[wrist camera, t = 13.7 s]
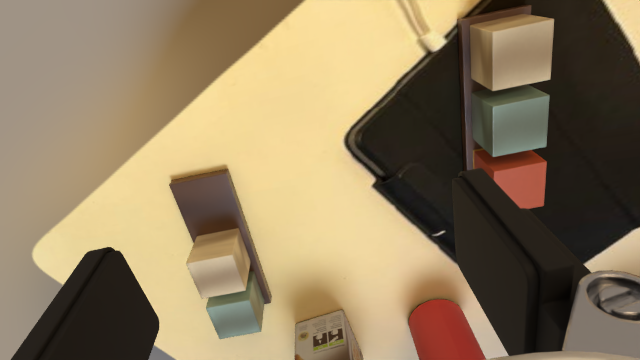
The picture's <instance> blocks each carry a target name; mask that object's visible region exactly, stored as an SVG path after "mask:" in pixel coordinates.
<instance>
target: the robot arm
mask: <svg viewBox="0 0 640 360" xmlns="http://www.w3.org/2000/svg"><path fill="white" fill-rule="evenodd" d="M452 193H453V211H454V229H455V247H456V259H457V263H458V265H459V268H460V270H461V272H462V273H463V275H464V277H465V279H466V280H467V282H468V284H469V286H470V288H471V289H472V291H473V293H474V295H475V296H476V298H477V300H478V302H479V304H480V305H481V307H482V309H483V311H484V312H485V314H486V316H487V318H488V319H489V321H490V323H491V325H492V327H493V328H494V330H495V332H496V334H497V335H498V337H499V339H500V341H501V343H502V344H503V346H504V348H505V350H506V351H507V353H508V355H509V356H506V357H498V358H492V359H486V360H640V277H639V276H636V275H633V274H629V273H626V272H620V271H612V270H609V271H597V272H593V273H591V272H590V271H589V270H588V269H587V268H586V267H585V266H584V265H583V264H582V263H581V262H580V261H579V260H578V259H577V258H576V256H575V255H574V254H573V253H572V252H571V251H570V250H569V249H568V248H567V247H566V246H565V245H564V244H563V243H562V242H561V241H560V240H559V239H558V238H557V237H556V236H555V235H554V234H553V233H552V232H551V231H550V230H549V229H548V228H547V227H546V226H545V225H544V224H543V223H542V222H541V221H540V220H539V219H538V218H537V217H536V216H535V215H534V214H533V213H532V212H531V211H530V210H528V209H526V208H520V207H519V206H518V205H517V204H516V203H515V202H514V201H513V200H512V199H511V198H510V197H509V196H508V195H507V194H506V193H505V192H504V191H503V190H502V189H501V187H500V186H499V185H498V184H497V183H496V182H495V181H494V180H493V179H492V178H491V177H490V176H489V175H488V174H487V173H486V172H485V171H484V170H483V169H482V168H476V169H472V170H467V171H462V172H459V174H458V178H455V179H453V180H452ZM158 331H159V319H158V317H157V315H156V313H155V311H154V309H153V308H152V306H151V304H150V302H149V301H148V299H147V297H146V295H145V294H144V292H143V290H142V288H141V286H140V285H139V283H138V281H137V279H136V278H135V276H134V274H133V272H132V271H131V269H130V267H129V265H128V263H127V262H126V260H125V258H124V256H123V255H122V253H121V252H120V251H115V250H114V249H113V248H111V247H107V248H102V249H97V250H93V251H89V252H87V253H86V254H85V255H84V257H83V258H82V260H81V261H80V263H79V264H78V265H77V267H76V268H75V270H74V271H73V272H72V274H71V275H70V277H69V278H68V280H67V281H66V282H65V284H64V285H63V287H62V288H61V289H60V291H59V292H58V294H57V295H56V297H55V298H54V299H53V301H52V302H51V304H50V305H49V306H48V308H47V309H46V311H45V312H44V313H43V315H42V316H41V318H40V319H39V321H38V322H37V323H36V325H35V326H34V328H33V329H32V330H31V332H30V333H29V335H28V336H27V338H26V339H25V340H24V342H23V343H22V345H21V346H20V347H19V349H18V351H17V352H16V353H15V354H14V356H13V357H12V359H11V360H148V359H149V356H150V353H151V350H152V348H153V345H154V342H155V339H156V337H157V334H158Z"/></svg>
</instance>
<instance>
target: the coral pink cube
mask: <svg viewBox="0 0 640 360" xmlns="http://www.w3.org/2000/svg"><path fill="white" fill-rule="evenodd" d="M546 164H547V162H546V161H545V160H544V159H543V158H541V157H540V156H539V155H537V154H536V153H535V152H533V151H532V150H527V151H522V152H517V153H512V154H507V155H502V156H497V157H492V156H491V155H490V154H489V153H488V152H487V151H486V150H480V151H474V169H476V168H482V169H483V170H484V171H485V172H486V173H487V174H488V175H489V176H490V177H491V178H492V179H493V180H494V181H495V182H496V183H497V184H498V185H499V186H500V187H501V189H502V190H503V191H504V192H505V193H506V194H507V195H508V196H509V197H510V198H511V199H512V200H513V201H514V202H515V203H516V204H517V205H518V206H519V207H520V208H526V209H529V208H535V207H540V206H544V194H545V179H546Z"/></svg>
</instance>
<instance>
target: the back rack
mask: <svg viewBox="0 0 640 360" xmlns="http://www.w3.org/2000/svg"><path fill="white" fill-rule="evenodd" d="M169 186H170V188H171V190H172V193H173V195H174V198H175V200H176V202H177V205H178V207H179V209H180V212H181V214H182V216H183V219H184V221H185V224H186V226H187V228H188V231H189V233H190V235H191V238H192V240H193V242H194V245H193V247H192V250H191V252H190V255H189V258H188V260H187V263H186V265H187V267H188V269H189V271H190V274H191V276H192V278H193V280H194V283H195V285H196V287H197V289H198V291H199V294H200V296H201V298H202V299H203V298H209V299H208V303H207V306H206V310H207V312H208V314H209V316H210V318H211V321H212V323H213V325H214V327H215V330H216V332H217V334H218V336H219V339H223V338H229V337H234V336H240V335H245V334H251V333H256V332H261V328H262V319H263V310H264V304H268V303H271V294H270V291H269V288H268V285H267V282H266V279H265V276H264V273H263V270H262V268H261V265H260V262H259V259H258V256H257V253H256V250H255V247H254V244H253V241H252V238H251V235H250V232H249V229H248V226H247V223H246V220H245V218H244V215H243V212H242V209H241V206H240V203H239V200H238V197H237V194H236V191H235V188H234V185H233V182H232V179H231V176H230V173H229V171H228V169H225V170H220V171H215V172H210V173H205V174H200V175H195V176H190V177H185V178H181V179H176V180H172V181H171V183H170V184H169Z"/></svg>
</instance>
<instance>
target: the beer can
mask: <svg viewBox="0 0 640 360" xmlns="http://www.w3.org/2000/svg"><path fill="white" fill-rule="evenodd" d="M409 328H410V331H411V334H412V338H413V341H414V344H415V347H416V350H417V354H418V357H419V360H486V358H485V356H484V354H483V352H482V350H481V348H480V346H479V344H478V342H477V340H476V338H475V336H474V334H473V332H472V330H471V328H470V325H469V323H468V321H467V319H466V317H465V315H464V313H463V311H462V310H461V308H460V307H459V306H458V305H457V304H455V303H454V302H452V301H449V300H444V299H434V300H430V301H426V302H424V303H423V304H421V305H419V306H418V307H417V308H416V309H415V310H414V311H413V312H412V314H411V316H410V319H409Z"/></svg>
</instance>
